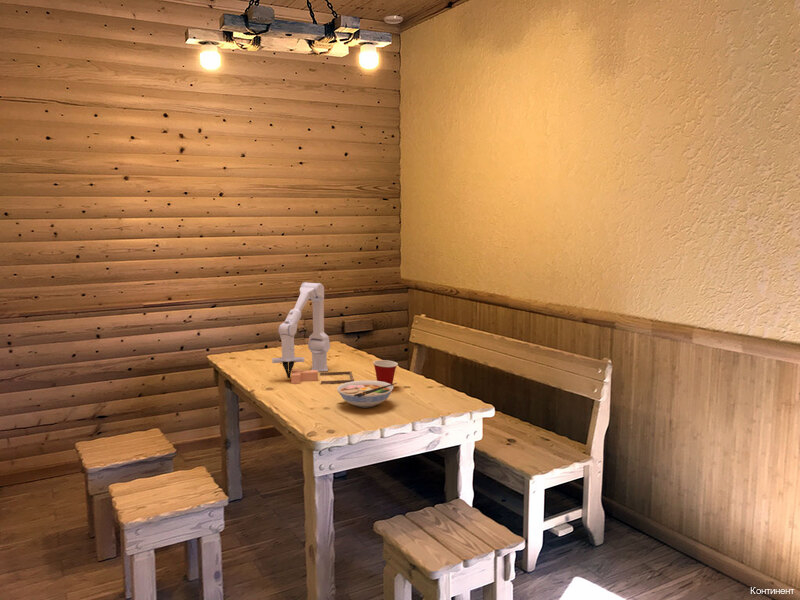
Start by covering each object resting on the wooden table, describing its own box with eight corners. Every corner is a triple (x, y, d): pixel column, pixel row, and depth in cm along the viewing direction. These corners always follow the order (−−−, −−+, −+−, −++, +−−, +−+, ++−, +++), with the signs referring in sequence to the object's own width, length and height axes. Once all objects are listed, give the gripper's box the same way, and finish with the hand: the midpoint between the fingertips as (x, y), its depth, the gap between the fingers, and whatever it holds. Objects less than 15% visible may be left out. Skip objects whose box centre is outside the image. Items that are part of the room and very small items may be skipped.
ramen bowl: (365, 393, 282) (365, 375, 280) (407, 403, 267) (406, 383, 266) (323, 407, 262) (322, 387, 261) (365, 418, 248) (365, 397, 247)
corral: (320, 374, 314) (320, 372, 314) (351, 373, 316) (351, 371, 316) (320, 384, 297) (320, 381, 297) (354, 382, 299) (354, 380, 299)
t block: (292, 377, 310) (291, 369, 309) (317, 376, 311) (317, 368, 311) (291, 383, 298) (291, 375, 297) (318, 382, 299) (317, 374, 299)
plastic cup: (395, 392, 283) (395, 365, 281) (370, 391, 285) (370, 364, 283) (400, 386, 293) (400, 360, 291) (376, 385, 295) (376, 359, 294)
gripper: (271, 351, 297) (272, 380, 298) (303, 350, 299) (304, 379, 300) (272, 348, 304) (273, 376, 305) (304, 347, 306) (304, 375, 307)
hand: (288, 377), depth 303 cm, fingers closed
